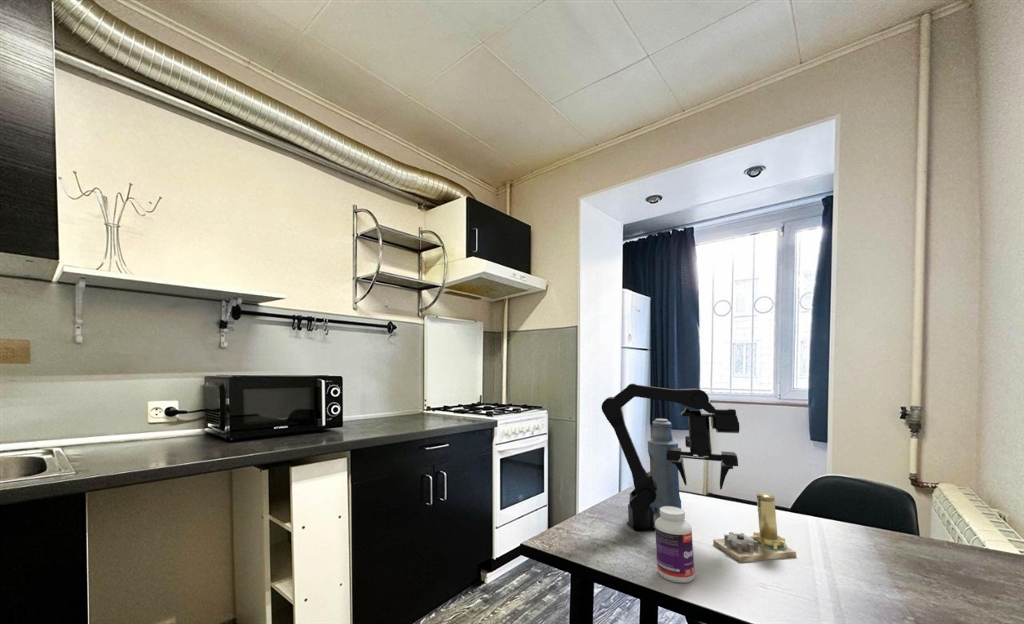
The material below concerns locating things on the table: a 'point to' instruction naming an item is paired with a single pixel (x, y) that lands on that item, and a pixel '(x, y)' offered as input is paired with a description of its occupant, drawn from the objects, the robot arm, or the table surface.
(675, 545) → the pill bottle
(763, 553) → the gear board
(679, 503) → the bottle
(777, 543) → the gear
